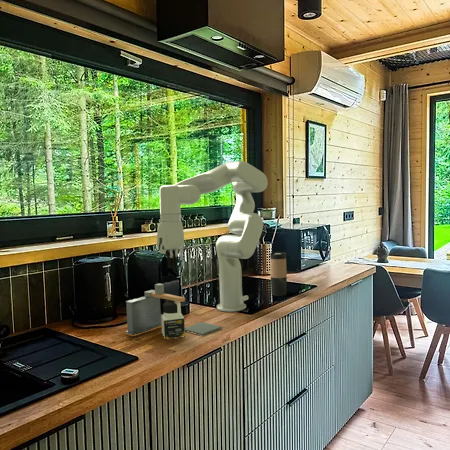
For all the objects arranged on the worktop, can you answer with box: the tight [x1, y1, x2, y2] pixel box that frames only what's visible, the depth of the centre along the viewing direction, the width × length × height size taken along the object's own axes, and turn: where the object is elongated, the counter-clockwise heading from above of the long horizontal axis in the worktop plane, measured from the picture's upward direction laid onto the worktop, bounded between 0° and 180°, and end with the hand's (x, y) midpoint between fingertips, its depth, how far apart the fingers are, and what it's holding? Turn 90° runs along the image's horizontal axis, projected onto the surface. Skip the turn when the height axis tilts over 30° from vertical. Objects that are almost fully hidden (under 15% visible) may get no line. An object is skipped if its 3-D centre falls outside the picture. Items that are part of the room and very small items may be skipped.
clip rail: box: [125, 295, 162, 335], centre depth 156 cm, size 14×4×12 cm, turn 139°
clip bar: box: [144, 283, 186, 303], centre depth 153 cm, size 4×19×5 cm, turn 49°
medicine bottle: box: [161, 300, 186, 339], centre depth 149 cm, size 7×7×12 cm
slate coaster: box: [185, 321, 222, 337], centre depth 155 cm, size 10×10×1 cm
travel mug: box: [269, 251, 288, 297], centre depth 204 cm, size 8×8×20 cm
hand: (172, 267), depth 159 cm, fingers closed
